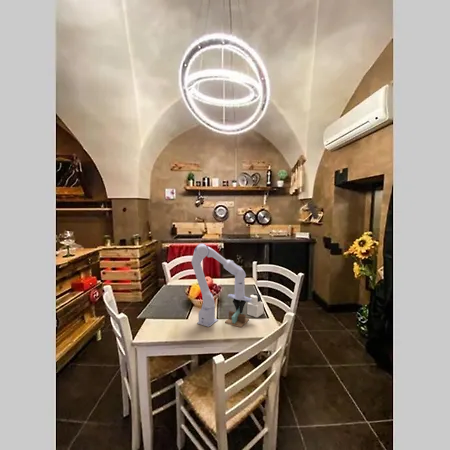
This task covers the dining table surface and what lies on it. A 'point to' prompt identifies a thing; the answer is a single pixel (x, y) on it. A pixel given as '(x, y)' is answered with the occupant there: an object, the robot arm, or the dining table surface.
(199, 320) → the robot arm
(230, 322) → the joint base
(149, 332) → the dining table surface
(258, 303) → the medicine bottle
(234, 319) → the teal block
